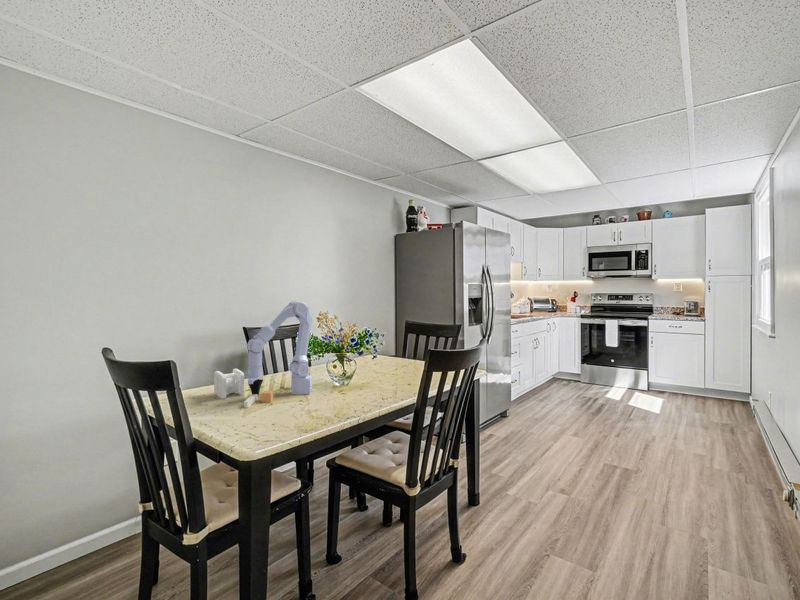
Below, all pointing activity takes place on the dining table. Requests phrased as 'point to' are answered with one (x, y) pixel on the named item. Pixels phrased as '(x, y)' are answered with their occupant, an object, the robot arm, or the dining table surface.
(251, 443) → the dining table surface
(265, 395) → the plug block
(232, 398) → the dining table surface
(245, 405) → the bar
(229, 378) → the cable organizer
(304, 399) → the dining table surface
